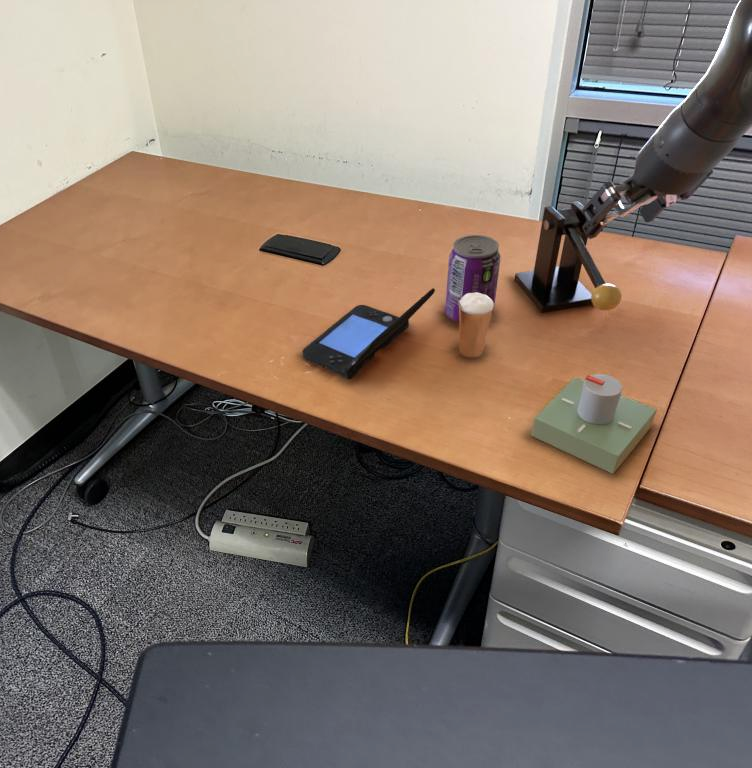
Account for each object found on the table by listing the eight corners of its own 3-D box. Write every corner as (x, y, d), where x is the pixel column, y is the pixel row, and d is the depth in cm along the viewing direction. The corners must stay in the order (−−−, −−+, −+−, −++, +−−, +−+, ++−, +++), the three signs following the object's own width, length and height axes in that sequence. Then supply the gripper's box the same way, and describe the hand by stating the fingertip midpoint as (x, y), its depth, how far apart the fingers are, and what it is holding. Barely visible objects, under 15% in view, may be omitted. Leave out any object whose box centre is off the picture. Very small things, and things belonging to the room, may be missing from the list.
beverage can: (495, 327, 102) (505, 257, 94) (445, 328, 103) (451, 258, 96) (490, 301, 107) (499, 232, 100) (443, 302, 109) (448, 233, 101)
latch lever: (619, 313, 93) (630, 297, 90) (593, 317, 93) (603, 301, 90) (570, 221, 102) (578, 203, 99) (546, 225, 102) (554, 207, 99)
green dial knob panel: (650, 427, 83) (657, 408, 81) (612, 474, 78) (619, 455, 76) (570, 394, 89) (574, 375, 87) (530, 435, 85) (534, 417, 83)
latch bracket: (593, 304, 103) (614, 221, 95) (541, 313, 103) (557, 230, 94) (562, 271, 111) (578, 191, 102) (514, 279, 111) (526, 200, 102)
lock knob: (620, 411, 82) (629, 380, 79) (604, 429, 80) (613, 398, 77) (586, 397, 84) (594, 367, 81) (570, 415, 82) (578, 384, 79)
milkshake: (443, 348, 100) (447, 290, 93) (475, 338, 101) (482, 279, 94) (460, 365, 96) (466, 306, 90) (494, 355, 97) (502, 295, 91)
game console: (359, 309, 110) (359, 260, 104) (435, 337, 102) (439, 285, 96) (298, 359, 102) (293, 308, 96) (374, 393, 94) (375, 340, 88)
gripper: (649, 186, 76) (581, 261, 91) (763, 154, 77) (677, 233, 92) (616, 134, 78) (556, 215, 93) (727, 103, 79) (650, 189, 95)
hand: (616, 224), depth 93 cm, fingers open, 8 cm apart
